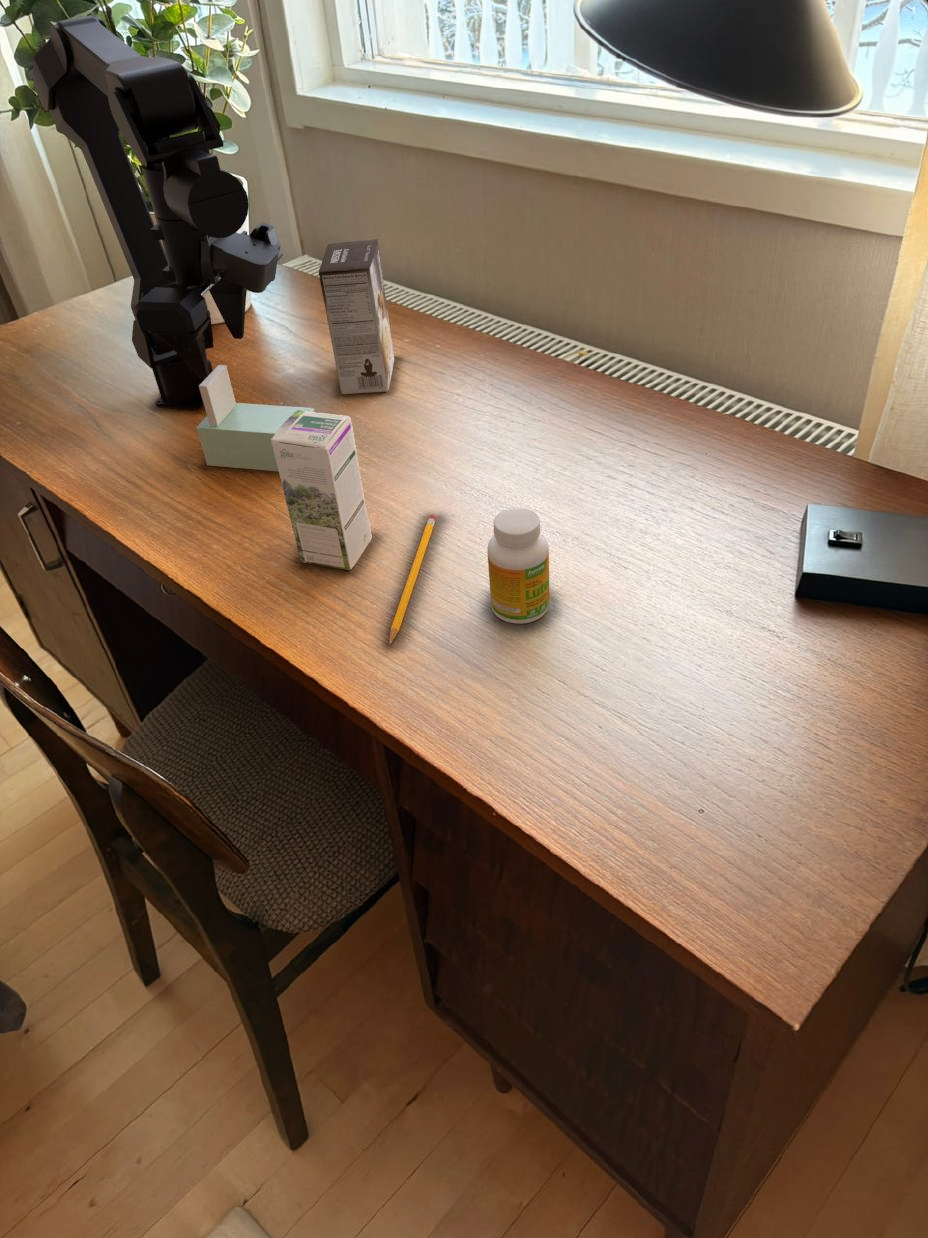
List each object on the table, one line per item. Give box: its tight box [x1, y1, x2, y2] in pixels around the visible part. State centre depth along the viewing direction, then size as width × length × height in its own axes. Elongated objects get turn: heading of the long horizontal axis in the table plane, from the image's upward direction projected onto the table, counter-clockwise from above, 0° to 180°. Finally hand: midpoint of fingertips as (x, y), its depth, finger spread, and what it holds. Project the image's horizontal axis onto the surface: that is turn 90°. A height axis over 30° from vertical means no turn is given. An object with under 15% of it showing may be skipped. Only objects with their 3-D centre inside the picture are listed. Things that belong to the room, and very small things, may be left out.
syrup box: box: [271, 410, 373, 571], centre depth 90 cm, size 6×6×14 cm
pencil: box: [389, 514, 437, 644], centre depth 91 cm, size 1×19×1 cm, turn 170°
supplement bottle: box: [487, 507, 550, 625], centre depth 84 cm, size 5×5×10 cm
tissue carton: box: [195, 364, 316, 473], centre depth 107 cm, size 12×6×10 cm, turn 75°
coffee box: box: [318, 239, 395, 395], centre depth 117 cm, size 9×6×16 cm
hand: (221, 356), depth 104 cm, fingers open, 9 cm apart
